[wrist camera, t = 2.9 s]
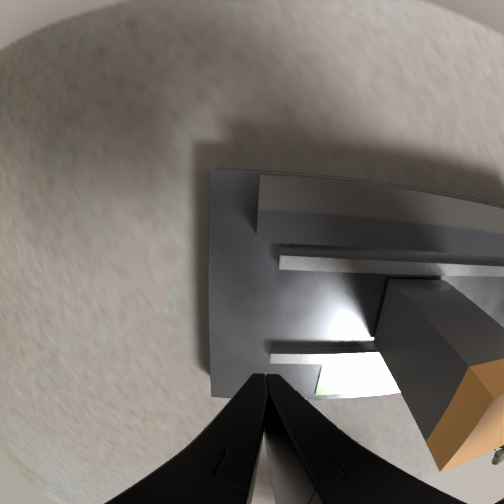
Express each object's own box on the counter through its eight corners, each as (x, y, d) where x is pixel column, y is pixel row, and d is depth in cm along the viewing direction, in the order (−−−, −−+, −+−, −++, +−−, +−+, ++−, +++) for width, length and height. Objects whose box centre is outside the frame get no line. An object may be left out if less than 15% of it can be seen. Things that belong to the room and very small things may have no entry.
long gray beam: (256, 233, 13) (256, 241, 11) (259, 173, 12) (260, 175, 11) (517, 253, 13) (529, 259, 11) (525, 213, 12) (538, 217, 11)
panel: (214, 379, 17) (209, 403, 15) (214, 169, 13) (207, 170, 11) (479, 364, 17) (492, 379, 15) (525, 211, 13) (546, 218, 11)
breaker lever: (373, 341, 14) (439, 471, 6) (388, 278, 13) (493, 398, 5) (427, 338, 14) (504, 444, 6) (445, 280, 13) (551, 373, 5)
